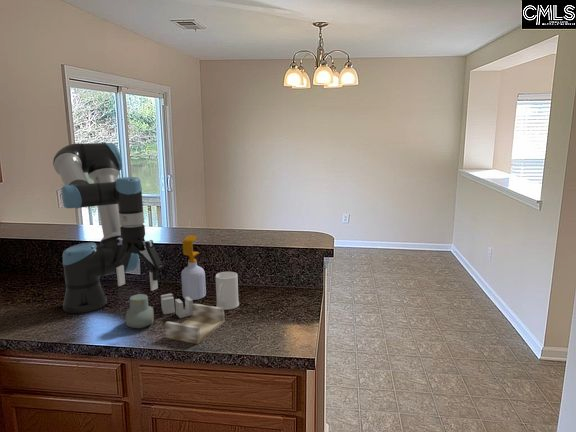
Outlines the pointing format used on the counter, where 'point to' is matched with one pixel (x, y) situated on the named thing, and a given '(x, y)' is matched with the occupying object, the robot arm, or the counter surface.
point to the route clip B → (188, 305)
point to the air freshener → (139, 312)
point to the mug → (227, 290)
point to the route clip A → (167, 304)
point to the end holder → (196, 324)
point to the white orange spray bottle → (192, 273)
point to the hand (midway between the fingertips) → (137, 287)
